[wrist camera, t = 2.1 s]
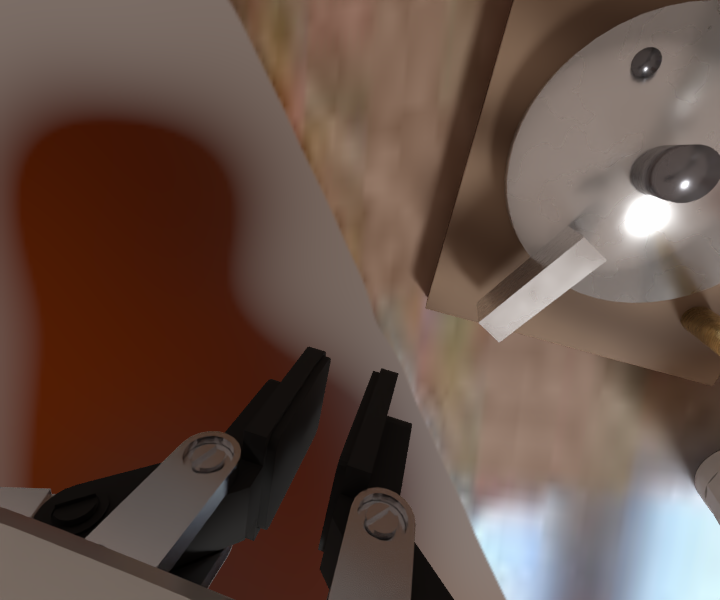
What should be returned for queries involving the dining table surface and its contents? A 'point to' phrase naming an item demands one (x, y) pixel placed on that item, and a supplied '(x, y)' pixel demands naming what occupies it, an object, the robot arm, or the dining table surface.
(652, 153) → the post and dowel
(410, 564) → the robot arm
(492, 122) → the base board
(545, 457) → the dining table surface
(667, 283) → the flange plate
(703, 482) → the cup
